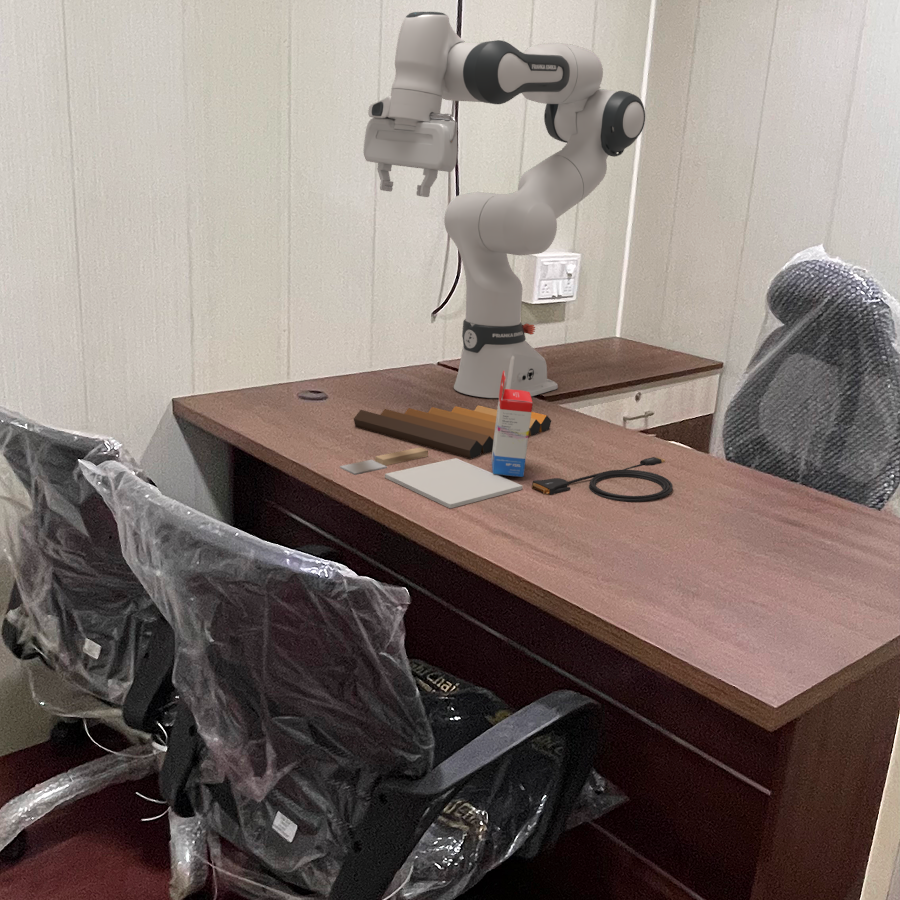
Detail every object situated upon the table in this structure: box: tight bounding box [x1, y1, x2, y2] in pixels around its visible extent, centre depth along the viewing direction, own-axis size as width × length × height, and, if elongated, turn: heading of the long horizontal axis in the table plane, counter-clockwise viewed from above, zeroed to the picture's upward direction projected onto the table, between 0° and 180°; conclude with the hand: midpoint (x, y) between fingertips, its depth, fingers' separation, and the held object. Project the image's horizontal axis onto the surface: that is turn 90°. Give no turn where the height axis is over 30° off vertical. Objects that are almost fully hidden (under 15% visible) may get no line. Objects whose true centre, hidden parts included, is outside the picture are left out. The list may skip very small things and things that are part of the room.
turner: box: [339, 446, 429, 476], centre depth 149 cm, size 15×4×1 cm, turn 130°
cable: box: [531, 456, 673, 503], centre depth 145 cm, size 14×28×2 cm, turn 127°
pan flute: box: [353, 405, 552, 460], centre depth 169 cm, size 25×3×25 cm
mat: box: [384, 457, 523, 509], centre depth 142 cm, size 14×15×1 cm
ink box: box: [491, 370, 534, 478], centre depth 147 cm, size 8×5×15 cm, turn 179°
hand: (403, 193), depth 168 cm, fingers open, 8 cm apart
